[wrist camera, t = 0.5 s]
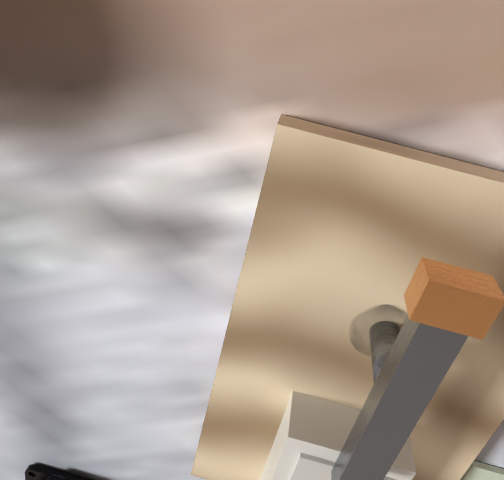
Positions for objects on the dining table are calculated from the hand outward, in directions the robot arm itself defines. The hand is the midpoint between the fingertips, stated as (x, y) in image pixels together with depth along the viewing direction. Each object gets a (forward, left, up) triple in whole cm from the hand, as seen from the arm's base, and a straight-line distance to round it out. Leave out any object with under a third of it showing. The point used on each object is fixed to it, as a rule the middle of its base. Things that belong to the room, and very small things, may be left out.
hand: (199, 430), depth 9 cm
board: (-8, -7, -13) cm, 17 cm away
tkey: (-5, -7, -12) cm, 15 cm away
